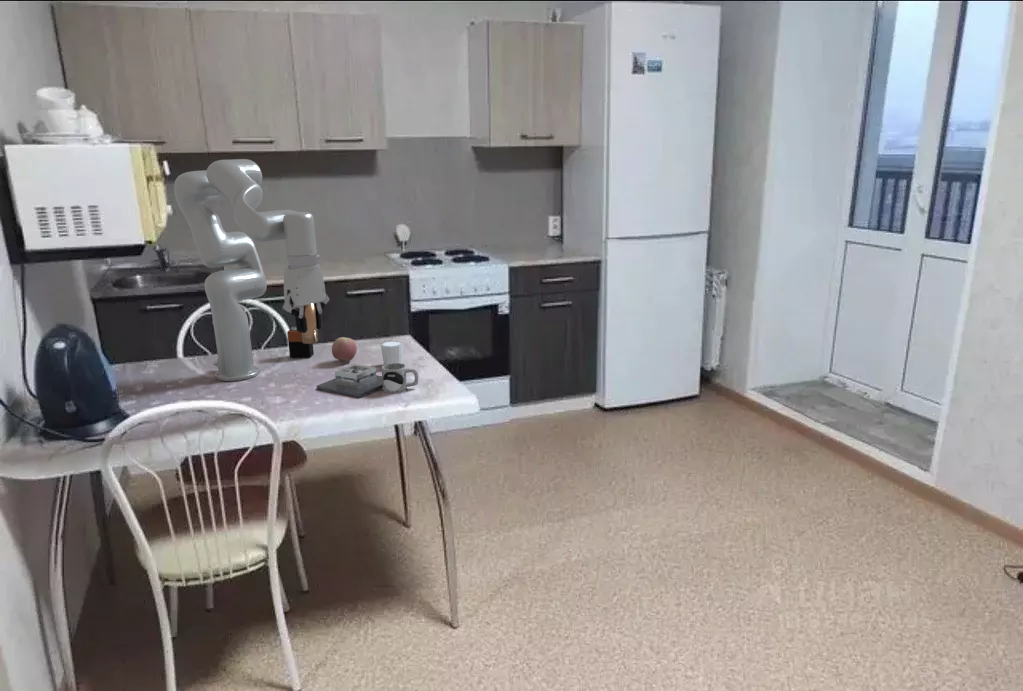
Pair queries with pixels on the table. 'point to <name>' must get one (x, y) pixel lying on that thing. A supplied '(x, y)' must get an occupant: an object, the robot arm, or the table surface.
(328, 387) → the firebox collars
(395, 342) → the shot glass
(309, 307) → the tube
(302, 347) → the battery
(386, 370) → the mug
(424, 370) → the table surface
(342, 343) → the apple
